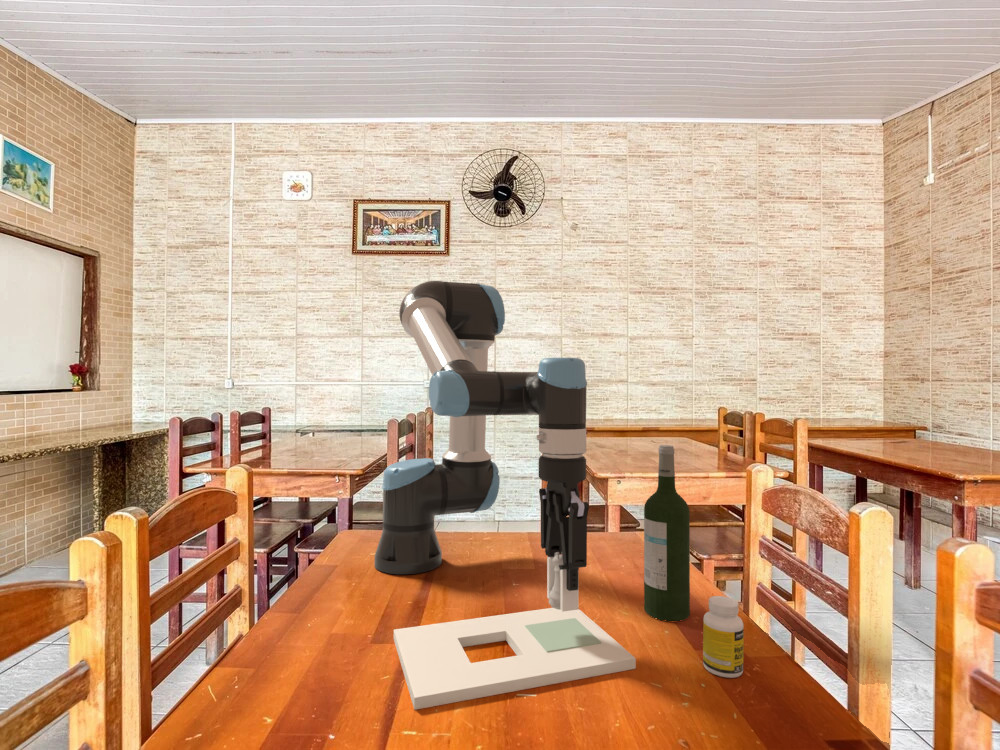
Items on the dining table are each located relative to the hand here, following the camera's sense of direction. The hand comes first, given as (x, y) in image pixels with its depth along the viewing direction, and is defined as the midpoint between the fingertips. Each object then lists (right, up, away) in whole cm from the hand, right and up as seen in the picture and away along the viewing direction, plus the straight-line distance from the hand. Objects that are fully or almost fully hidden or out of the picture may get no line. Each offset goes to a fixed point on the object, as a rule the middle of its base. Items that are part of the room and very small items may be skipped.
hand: (562, 603), depth 86 cm
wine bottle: (+20, -7, +12) cm, 25 cm away
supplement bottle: (+22, -7, -7) cm, 24 cm away
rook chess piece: (0, -1, 0) cm, 1 cm away
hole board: (-9, -6, -3) cm, 11 cm away
